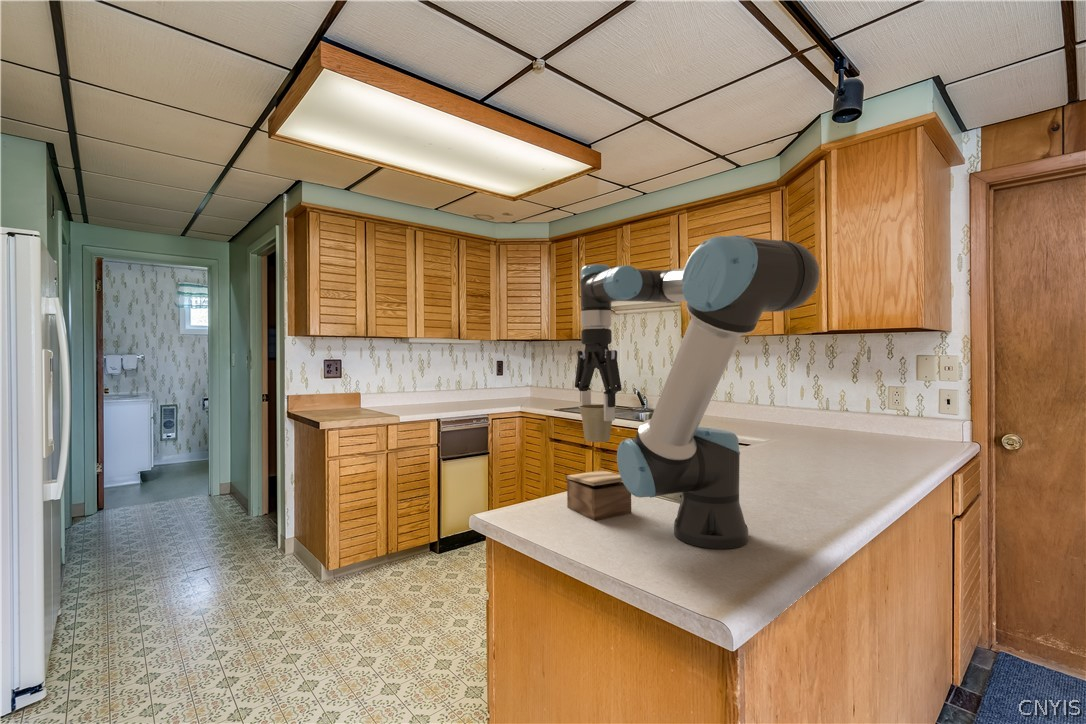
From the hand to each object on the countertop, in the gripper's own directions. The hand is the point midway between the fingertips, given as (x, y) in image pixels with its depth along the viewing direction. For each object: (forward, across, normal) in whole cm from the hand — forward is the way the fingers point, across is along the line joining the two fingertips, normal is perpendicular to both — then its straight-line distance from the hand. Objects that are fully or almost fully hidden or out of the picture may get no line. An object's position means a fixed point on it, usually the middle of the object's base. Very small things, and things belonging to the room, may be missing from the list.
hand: (597, 418), depth 128 cm
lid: (+16, 0, 0) cm, 16 cm away
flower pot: (+6, 0, 0) cm, 6 cm away
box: (+23, 0, 0) cm, 23 cm away
